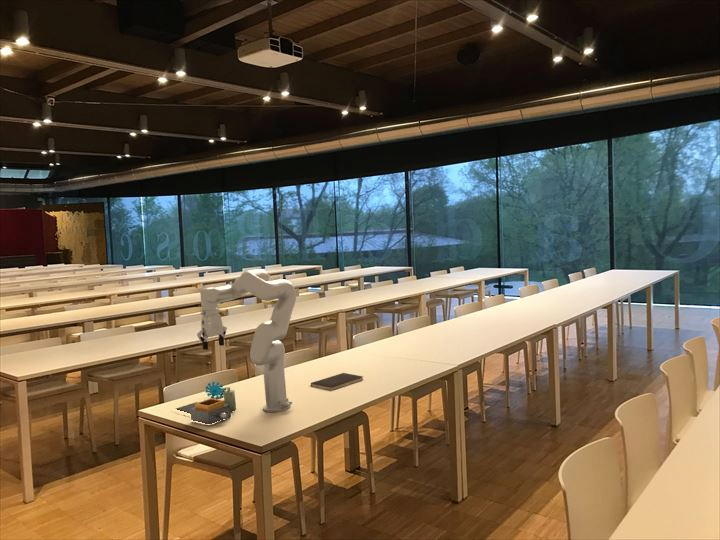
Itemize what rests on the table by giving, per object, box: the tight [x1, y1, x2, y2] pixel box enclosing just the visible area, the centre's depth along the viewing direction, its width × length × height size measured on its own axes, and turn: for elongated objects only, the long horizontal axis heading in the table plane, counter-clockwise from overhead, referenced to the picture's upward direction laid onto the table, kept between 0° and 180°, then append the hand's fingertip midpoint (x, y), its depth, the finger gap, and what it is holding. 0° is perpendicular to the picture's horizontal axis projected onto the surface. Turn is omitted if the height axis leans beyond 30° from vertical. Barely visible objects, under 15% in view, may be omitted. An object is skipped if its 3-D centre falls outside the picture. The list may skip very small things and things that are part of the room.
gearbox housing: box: [190, 397, 232, 424], centre depth 253 cm, size 16×12×8 cm
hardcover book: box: [310, 372, 364, 391], centre depth 302 cm, size 16×23×2 cm
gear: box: [205, 381, 227, 400], centre depth 291 cm, size 11×6×10 cm
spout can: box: [223, 386, 237, 413], centre depth 266 cm, size 5×5×11 cm
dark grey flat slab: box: [175, 401, 199, 414], centre depth 271 cm, size 20×2×15 cm
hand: (213, 347), depth 281 cm, fingers open, 9 cm apart
